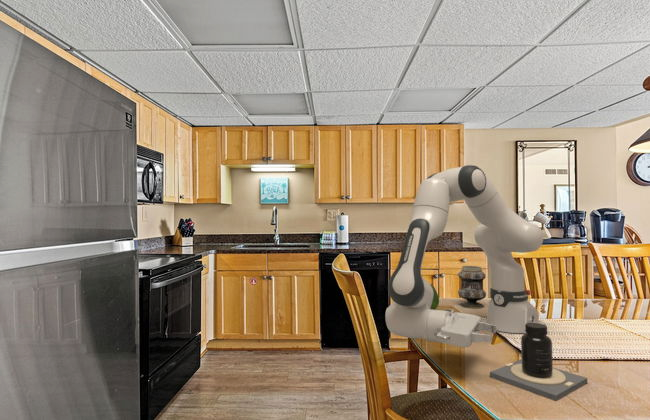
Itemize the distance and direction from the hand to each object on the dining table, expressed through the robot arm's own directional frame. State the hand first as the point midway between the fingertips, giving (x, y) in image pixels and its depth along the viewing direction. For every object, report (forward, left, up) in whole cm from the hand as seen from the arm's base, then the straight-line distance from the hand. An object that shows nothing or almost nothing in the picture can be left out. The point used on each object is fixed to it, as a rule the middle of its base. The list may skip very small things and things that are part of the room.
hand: (494, 333), depth 102 cm
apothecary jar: (-61, -49, -10) cm, 79 cm away
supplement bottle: (-4, +9, -8) cm, 13 cm away
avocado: (-38, -54, -10) cm, 67 cm away
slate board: (-4, +9, -10) cm, 14 cm away
